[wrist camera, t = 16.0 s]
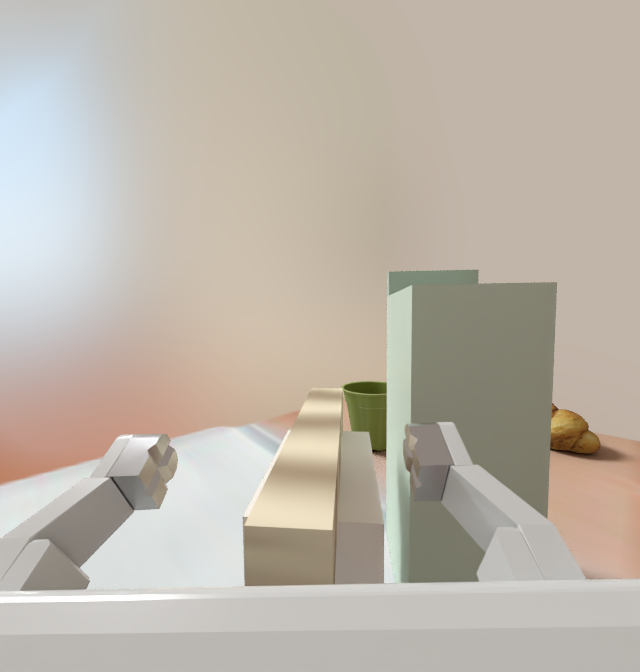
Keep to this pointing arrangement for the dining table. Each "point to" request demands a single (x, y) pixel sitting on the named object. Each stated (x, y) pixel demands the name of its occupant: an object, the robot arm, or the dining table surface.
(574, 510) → the dining table surface
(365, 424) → the plant pot
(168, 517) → the dining table surface
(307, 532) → the rail
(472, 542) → the pale green block
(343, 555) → the block
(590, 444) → the bread roll
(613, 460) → the dining table surface
